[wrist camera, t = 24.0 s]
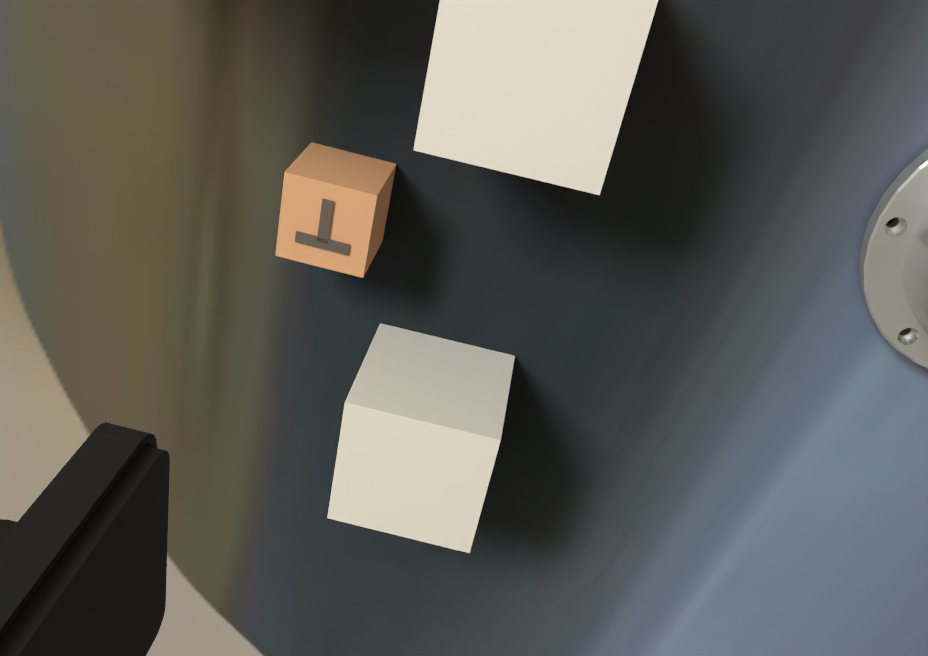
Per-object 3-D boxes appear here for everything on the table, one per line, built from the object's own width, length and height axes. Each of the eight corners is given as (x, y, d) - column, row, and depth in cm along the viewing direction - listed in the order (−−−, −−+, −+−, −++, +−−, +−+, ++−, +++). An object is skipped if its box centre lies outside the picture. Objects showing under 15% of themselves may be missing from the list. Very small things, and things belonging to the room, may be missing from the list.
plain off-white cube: (515, 356, 44) (500, 440, 38) (486, 461, 48) (469, 553, 42) (380, 323, 44) (344, 402, 38) (362, 430, 48) (327, 518, 42)
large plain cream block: (649, -34, 34) (659, -3, 28) (600, 135, 38) (599, 195, 32) (476, -75, 34) (449, -53, 28) (443, 98, 38) (413, 150, 32)
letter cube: (396, 163, 40) (376, 196, 36) (382, 240, 42) (362, 279, 39) (312, 141, 40) (283, 172, 37) (302, 219, 42) (274, 256, 39)
